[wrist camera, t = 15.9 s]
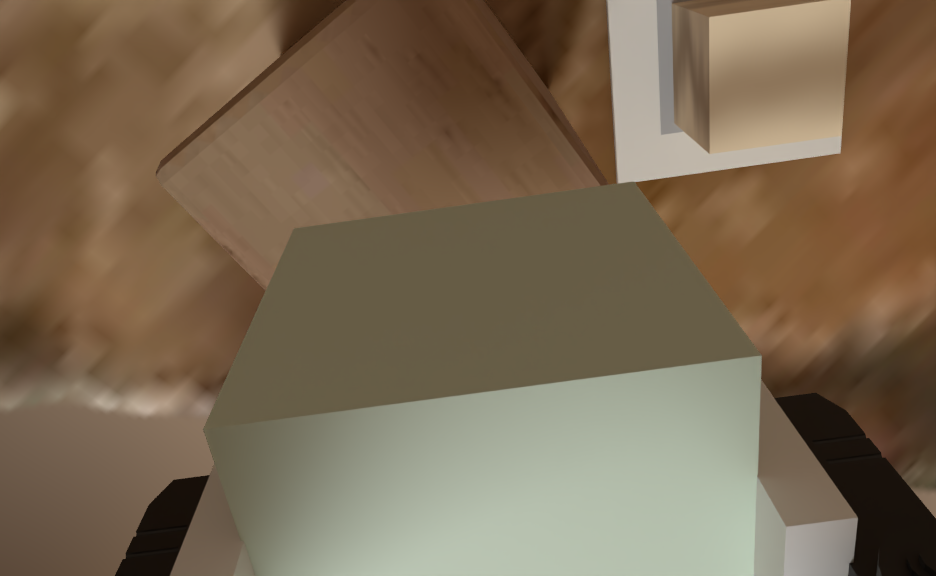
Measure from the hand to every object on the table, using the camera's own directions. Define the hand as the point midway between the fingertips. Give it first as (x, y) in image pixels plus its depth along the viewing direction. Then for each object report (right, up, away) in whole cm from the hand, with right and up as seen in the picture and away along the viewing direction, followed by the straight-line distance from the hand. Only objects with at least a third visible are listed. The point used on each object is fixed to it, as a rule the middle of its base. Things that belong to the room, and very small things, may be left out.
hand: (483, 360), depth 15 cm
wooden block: (-3, +12, +26) cm, 29 cm away
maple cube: (+13, +13, +25) cm, 31 cm away
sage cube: (0, 0, 0) cm, 0 cm away
